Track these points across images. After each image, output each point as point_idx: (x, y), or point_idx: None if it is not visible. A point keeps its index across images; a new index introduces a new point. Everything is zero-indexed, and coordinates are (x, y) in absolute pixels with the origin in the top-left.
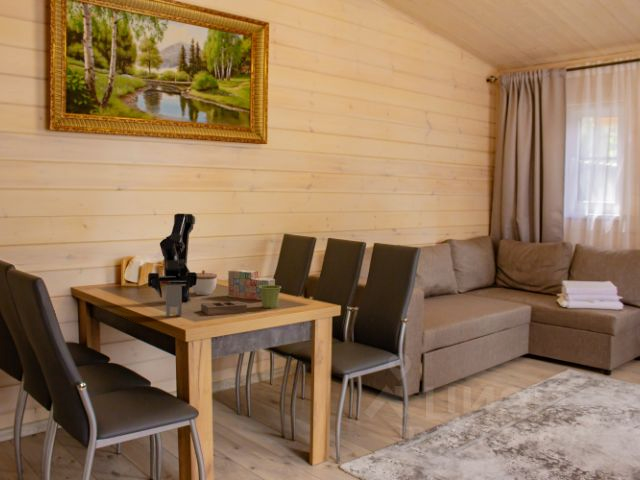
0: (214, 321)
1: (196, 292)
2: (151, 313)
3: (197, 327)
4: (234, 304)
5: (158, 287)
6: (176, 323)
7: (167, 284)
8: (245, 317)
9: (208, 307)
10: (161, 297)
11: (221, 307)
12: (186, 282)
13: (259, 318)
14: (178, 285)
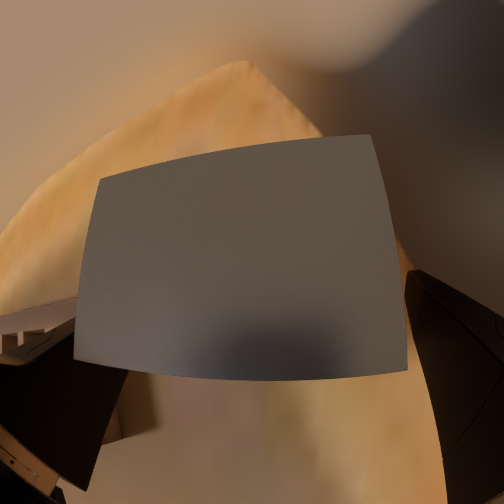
0: (122, 171)
1: None
2: (426, 426)
3: (206, 85)
4: (2, 350)
5: (499, 322)
6: (280, 133)
7: (358, 222)
8: (30, 237)
9: (76, 304)
10: (407, 293)
11: (38, 308)
12: (15, 363)
13: (17, 219)
14: (148, 171)
